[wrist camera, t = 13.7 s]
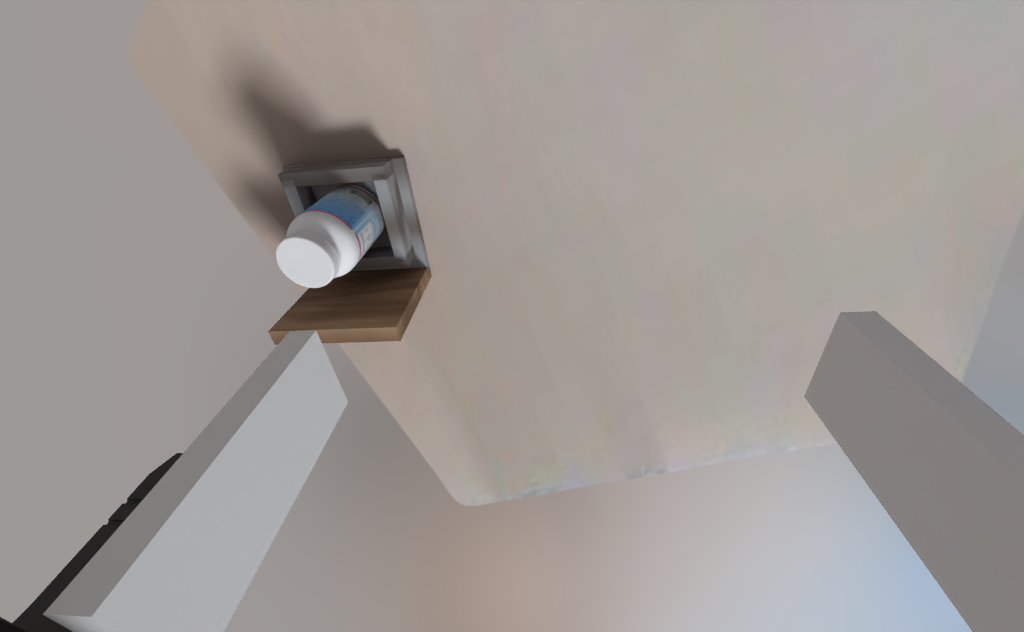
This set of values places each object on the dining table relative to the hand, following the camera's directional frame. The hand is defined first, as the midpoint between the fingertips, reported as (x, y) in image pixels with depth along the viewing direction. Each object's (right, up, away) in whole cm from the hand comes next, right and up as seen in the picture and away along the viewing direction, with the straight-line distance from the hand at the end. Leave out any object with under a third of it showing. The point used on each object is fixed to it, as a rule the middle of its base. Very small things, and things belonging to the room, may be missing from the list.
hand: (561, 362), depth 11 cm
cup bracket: (-17, +11, +32) cm, 38 cm away
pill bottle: (-17, +12, +31) cm, 37 cm away
